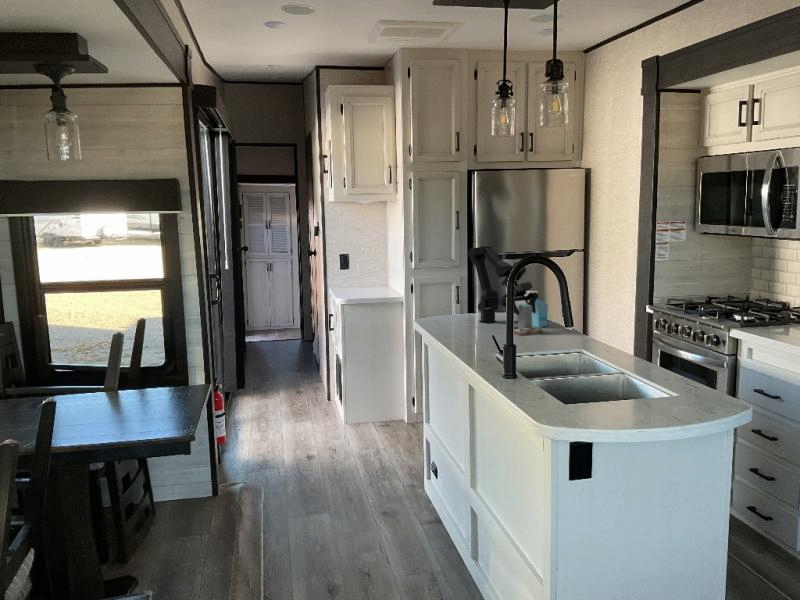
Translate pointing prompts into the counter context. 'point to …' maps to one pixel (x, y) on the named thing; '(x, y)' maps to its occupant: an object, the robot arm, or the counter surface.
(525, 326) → the module
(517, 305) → the supplement box
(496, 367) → the counter surface
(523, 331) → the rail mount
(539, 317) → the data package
